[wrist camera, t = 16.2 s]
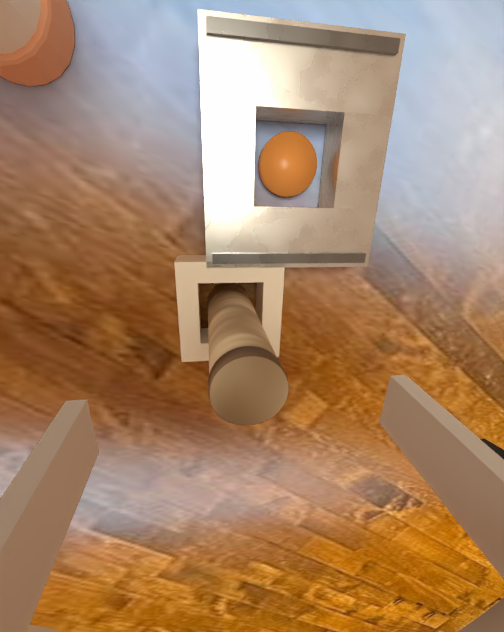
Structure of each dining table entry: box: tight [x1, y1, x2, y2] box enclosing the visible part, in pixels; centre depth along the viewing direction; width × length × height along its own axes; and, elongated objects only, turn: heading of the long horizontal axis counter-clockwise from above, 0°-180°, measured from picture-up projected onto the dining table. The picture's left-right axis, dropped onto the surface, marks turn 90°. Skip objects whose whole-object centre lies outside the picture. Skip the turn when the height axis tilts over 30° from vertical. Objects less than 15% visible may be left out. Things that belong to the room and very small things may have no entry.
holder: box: [174, 255, 285, 362], centre depth 27 cm, size 9×9×4 cm
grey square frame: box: [198, 9, 406, 268], centre depth 23 cm, size 14×16×4 cm
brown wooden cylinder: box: [208, 283, 288, 425], centre depth 22 cm, size 4×4×15 cm
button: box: [258, 131, 317, 197], centre depth 24 cm, size 5×5×1 cm
